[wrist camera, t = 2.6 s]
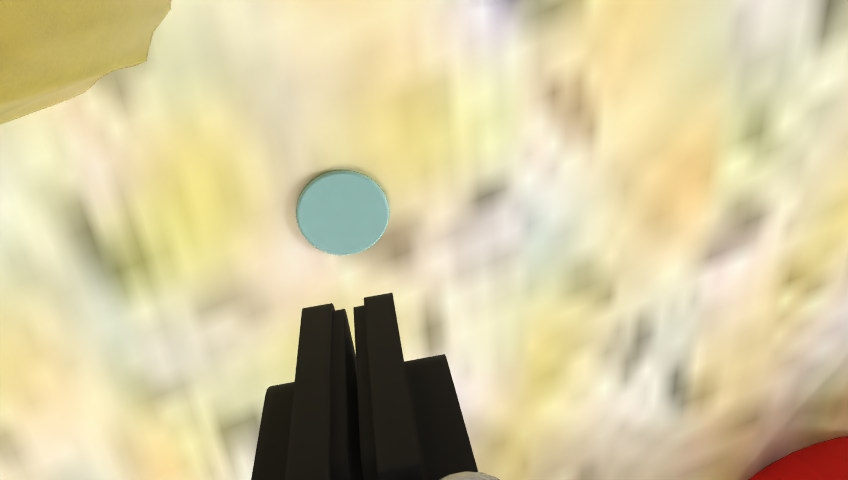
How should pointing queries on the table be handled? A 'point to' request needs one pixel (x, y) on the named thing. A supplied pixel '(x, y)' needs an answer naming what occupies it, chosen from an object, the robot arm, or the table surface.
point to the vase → (68, 47)
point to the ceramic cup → (811, 463)
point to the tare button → (342, 212)
